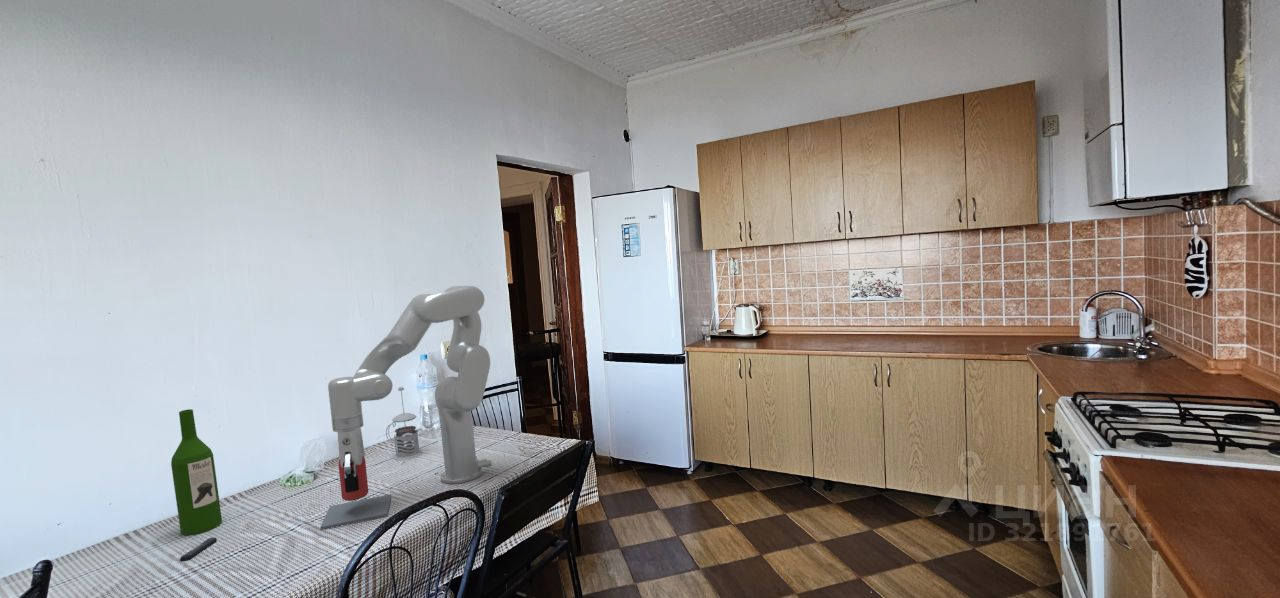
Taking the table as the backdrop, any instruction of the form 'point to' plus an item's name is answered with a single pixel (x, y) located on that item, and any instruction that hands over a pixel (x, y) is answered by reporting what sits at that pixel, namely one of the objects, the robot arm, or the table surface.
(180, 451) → the wine bottle
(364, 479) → the beer can
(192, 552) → the usb stick
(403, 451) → the french press
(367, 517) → the mat
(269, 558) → the table surface
